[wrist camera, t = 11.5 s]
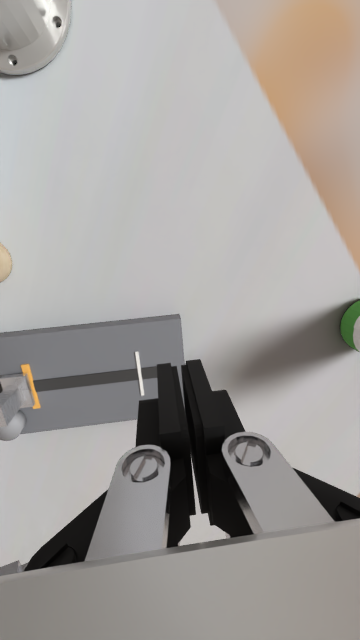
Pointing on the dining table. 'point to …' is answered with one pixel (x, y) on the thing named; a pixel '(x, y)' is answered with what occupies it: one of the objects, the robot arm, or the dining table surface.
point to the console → (89, 370)
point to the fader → (14, 396)
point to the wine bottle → (351, 326)
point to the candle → (4, 263)
